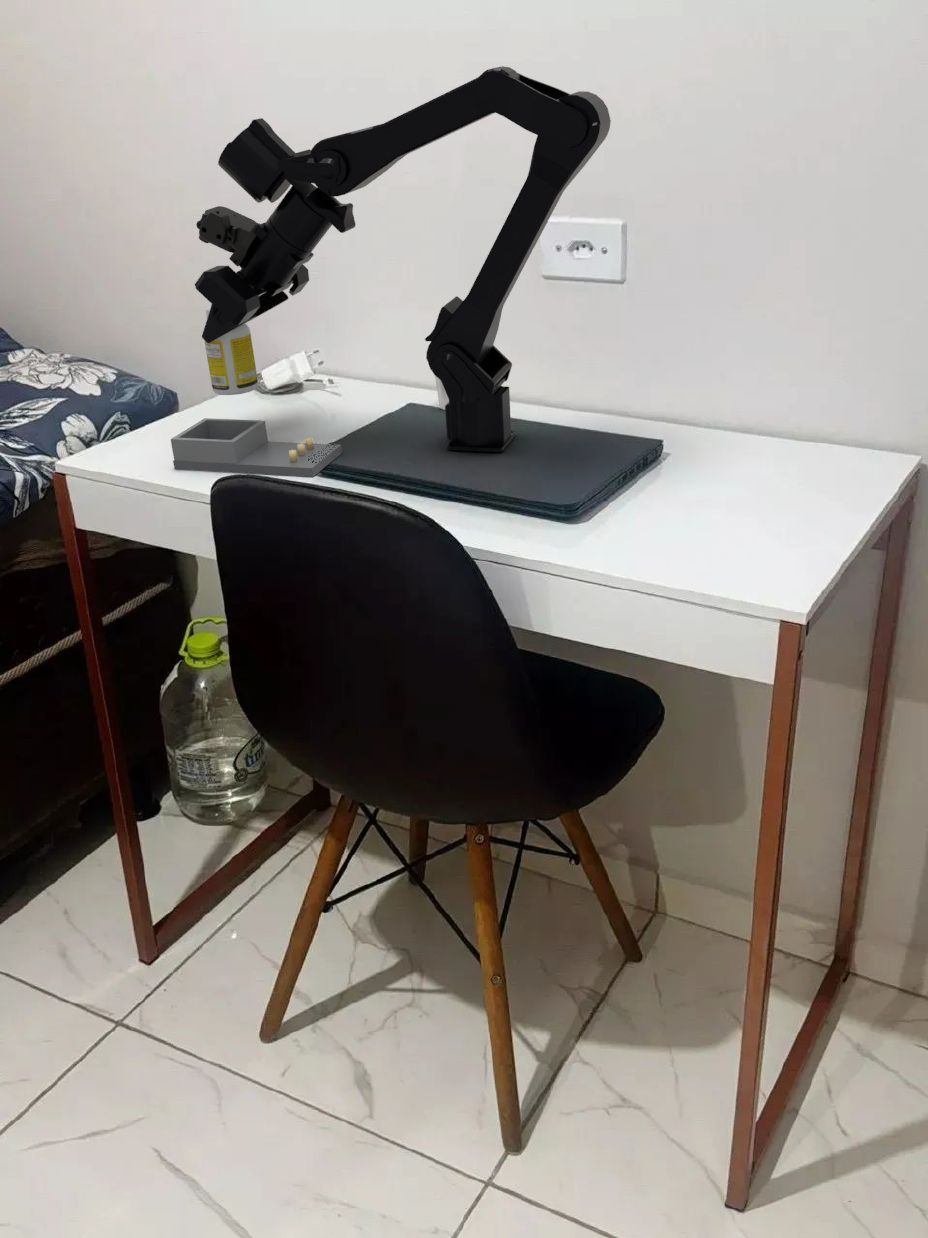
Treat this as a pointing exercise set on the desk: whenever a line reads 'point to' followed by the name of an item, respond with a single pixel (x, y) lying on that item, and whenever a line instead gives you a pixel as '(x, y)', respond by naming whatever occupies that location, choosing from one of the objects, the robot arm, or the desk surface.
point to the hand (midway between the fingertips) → (216, 334)
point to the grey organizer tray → (246, 450)
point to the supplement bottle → (232, 362)
